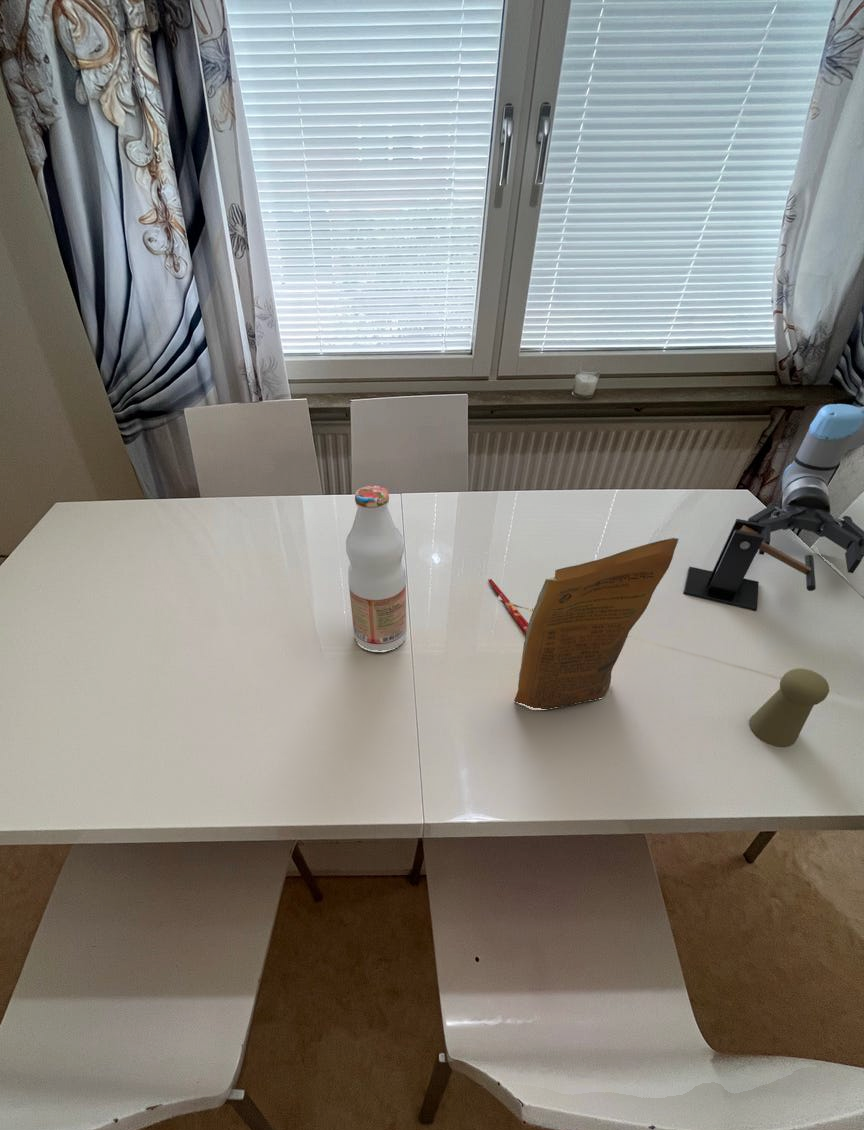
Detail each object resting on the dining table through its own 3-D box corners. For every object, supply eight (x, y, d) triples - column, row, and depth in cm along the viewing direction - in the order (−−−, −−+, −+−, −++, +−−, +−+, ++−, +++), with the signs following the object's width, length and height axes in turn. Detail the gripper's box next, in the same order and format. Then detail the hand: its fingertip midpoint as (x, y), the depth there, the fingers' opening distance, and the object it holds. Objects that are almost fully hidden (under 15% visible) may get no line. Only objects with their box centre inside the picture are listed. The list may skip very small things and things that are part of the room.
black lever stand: (755, 586, 101) (790, 523, 92) (754, 614, 96) (791, 549, 86) (687, 571, 106) (713, 509, 96) (681, 596, 100) (709, 532, 91)
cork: (739, 719, 79) (772, 667, 71) (772, 709, 80) (808, 657, 72) (772, 751, 74) (812, 700, 67) (807, 740, 75) (849, 688, 68)
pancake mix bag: (633, 702, 82) (698, 547, 63) (516, 726, 79) (548, 573, 60) (610, 672, 87) (664, 519, 68) (499, 693, 84) (524, 542, 65)
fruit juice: (346, 648, 93) (328, 503, 75) (365, 615, 100) (353, 474, 81) (397, 659, 91) (391, 512, 72) (413, 625, 97) (412, 482, 78)
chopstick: (492, 580, 106) (492, 576, 106) (555, 660, 89) (556, 656, 88) (483, 582, 106) (483, 578, 105) (544, 663, 89) (545, 659, 88)
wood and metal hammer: (806, 563, 95) (818, 554, 93) (808, 594, 89) (821, 585, 87) (734, 524, 97) (744, 514, 95) (731, 552, 91) (742, 542, 89)
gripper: (869, 533, 106) (882, 592, 92) (729, 508, 115) (721, 558, 102) (892, 499, 101) (909, 555, 87) (743, 475, 110) (737, 523, 97)
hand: (808, 557), depth 94 cm, fingers open, 13 cm apart
